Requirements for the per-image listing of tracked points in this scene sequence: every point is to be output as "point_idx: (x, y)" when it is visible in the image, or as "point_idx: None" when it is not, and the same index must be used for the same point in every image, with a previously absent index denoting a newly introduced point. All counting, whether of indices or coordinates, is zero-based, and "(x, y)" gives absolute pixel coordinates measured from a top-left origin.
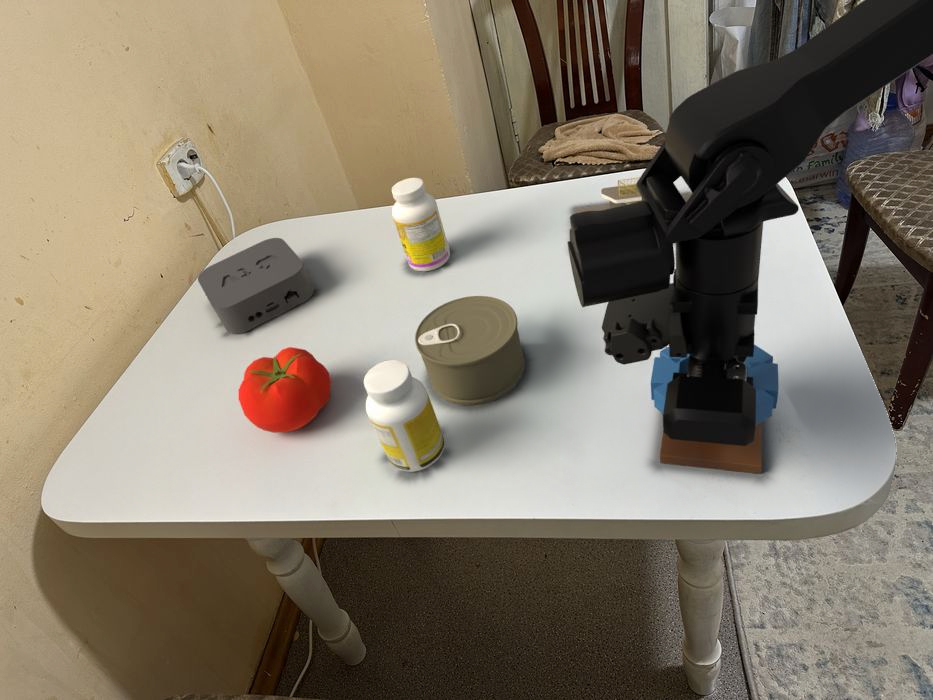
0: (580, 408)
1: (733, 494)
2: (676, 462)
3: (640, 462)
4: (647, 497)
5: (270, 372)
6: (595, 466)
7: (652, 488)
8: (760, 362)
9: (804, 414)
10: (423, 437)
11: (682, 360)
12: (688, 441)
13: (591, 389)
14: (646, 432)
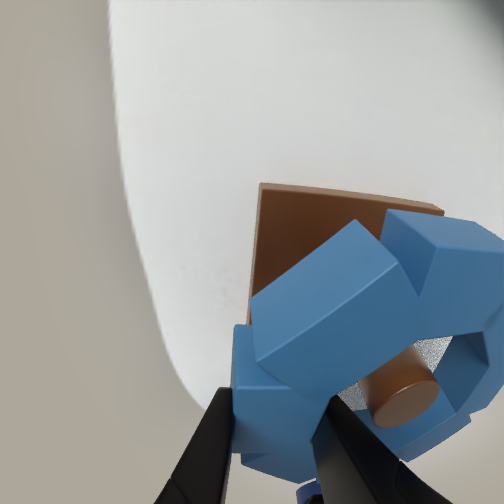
0: (408, 22)
1: (196, 309)
2: (256, 219)
3: (260, 139)
4: (163, 161)
5: None
6: (241, 41)
7: (188, 169)
8: (402, 456)
9: (355, 383)
10: None
11: (483, 336)
12: (305, 249)
13: (454, 53)
14: (348, 152)
